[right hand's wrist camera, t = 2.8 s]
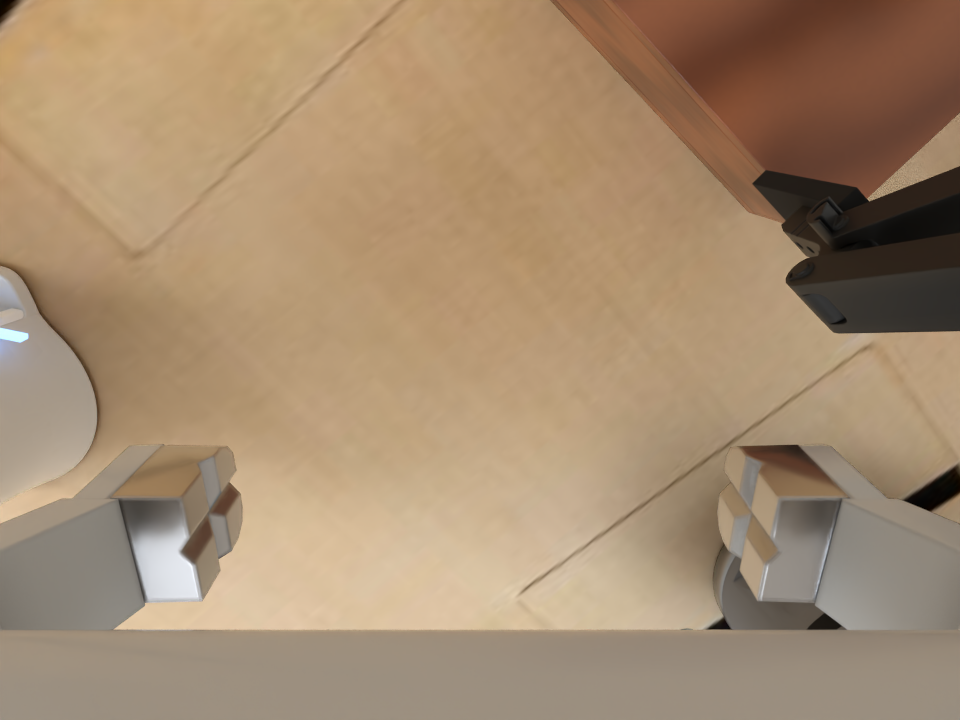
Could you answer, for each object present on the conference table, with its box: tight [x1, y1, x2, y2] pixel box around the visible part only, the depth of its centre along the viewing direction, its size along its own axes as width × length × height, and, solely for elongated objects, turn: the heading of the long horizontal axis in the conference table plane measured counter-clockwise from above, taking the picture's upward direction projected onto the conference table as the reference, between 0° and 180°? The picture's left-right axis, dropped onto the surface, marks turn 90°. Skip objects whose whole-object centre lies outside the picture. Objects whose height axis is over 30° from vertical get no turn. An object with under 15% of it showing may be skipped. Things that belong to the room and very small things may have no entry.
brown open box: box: [551, 0, 960, 223], centre depth 30 cm, size 19×11×9 cm, turn 48°
